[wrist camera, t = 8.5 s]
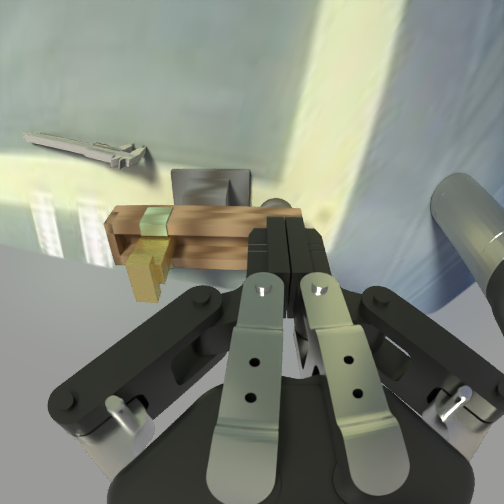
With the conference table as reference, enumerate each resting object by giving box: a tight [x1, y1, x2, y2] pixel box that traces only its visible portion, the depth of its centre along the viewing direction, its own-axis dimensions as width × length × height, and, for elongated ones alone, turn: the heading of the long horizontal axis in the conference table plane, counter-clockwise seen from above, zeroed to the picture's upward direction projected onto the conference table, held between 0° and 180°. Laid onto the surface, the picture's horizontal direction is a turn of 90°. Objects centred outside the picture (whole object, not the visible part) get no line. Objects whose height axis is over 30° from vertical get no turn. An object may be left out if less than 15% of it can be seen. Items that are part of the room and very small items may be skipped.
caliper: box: [23, 132, 146, 170], centre depth 35 cm, size 20×1×6 cm, turn 77°
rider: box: [125, 235, 178, 303], centre depth 34 cm, size 4×5×9 cm
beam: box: [104, 169, 302, 270], centre depth 39 cm, size 22×10×10 cm, turn 89°
